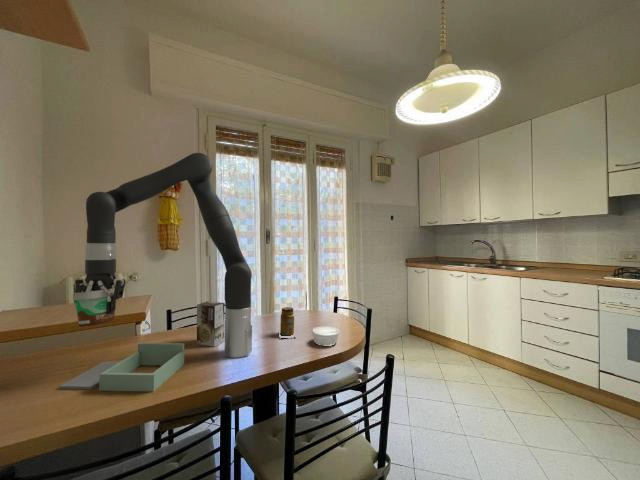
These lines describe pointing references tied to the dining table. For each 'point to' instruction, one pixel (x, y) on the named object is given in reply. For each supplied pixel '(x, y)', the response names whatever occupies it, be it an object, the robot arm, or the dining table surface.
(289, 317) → the condiment
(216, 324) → the coffee box
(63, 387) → the slate tile
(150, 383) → the pale green open box
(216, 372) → the dining table surface
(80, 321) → the food container
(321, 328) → the ramekin
